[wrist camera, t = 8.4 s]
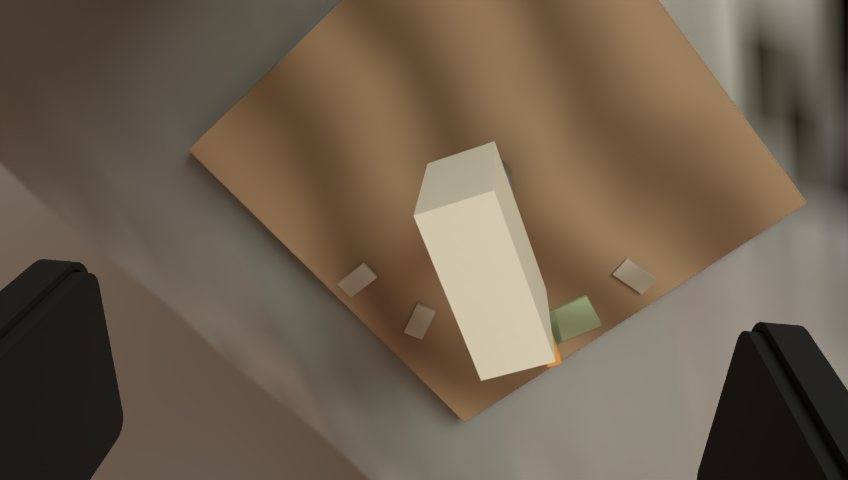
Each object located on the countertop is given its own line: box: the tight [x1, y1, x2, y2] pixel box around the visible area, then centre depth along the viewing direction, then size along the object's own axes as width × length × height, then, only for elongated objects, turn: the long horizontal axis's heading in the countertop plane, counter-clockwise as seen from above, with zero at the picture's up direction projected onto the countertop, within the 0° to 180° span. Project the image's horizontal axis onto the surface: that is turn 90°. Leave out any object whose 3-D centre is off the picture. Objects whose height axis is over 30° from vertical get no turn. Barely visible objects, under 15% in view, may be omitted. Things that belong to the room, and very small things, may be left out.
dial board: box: [189, 0, 807, 422], centre depth 33 cm, size 20×20×1 cm
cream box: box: [414, 141, 562, 381], centre depth 29 cm, size 13×3×11 cm, turn 21°
